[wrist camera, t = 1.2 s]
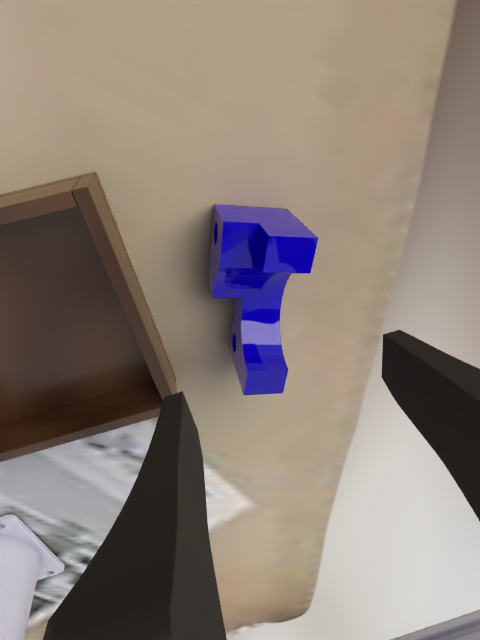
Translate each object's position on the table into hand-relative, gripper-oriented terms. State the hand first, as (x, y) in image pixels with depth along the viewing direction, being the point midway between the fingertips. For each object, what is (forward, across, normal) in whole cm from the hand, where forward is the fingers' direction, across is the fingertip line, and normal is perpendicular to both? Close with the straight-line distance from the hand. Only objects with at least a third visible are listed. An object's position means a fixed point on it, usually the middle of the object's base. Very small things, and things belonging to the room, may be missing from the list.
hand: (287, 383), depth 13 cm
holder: (+8, +10, -1) cm, 13 cm away
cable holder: (+8, 0, 0) cm, 8 cm away
